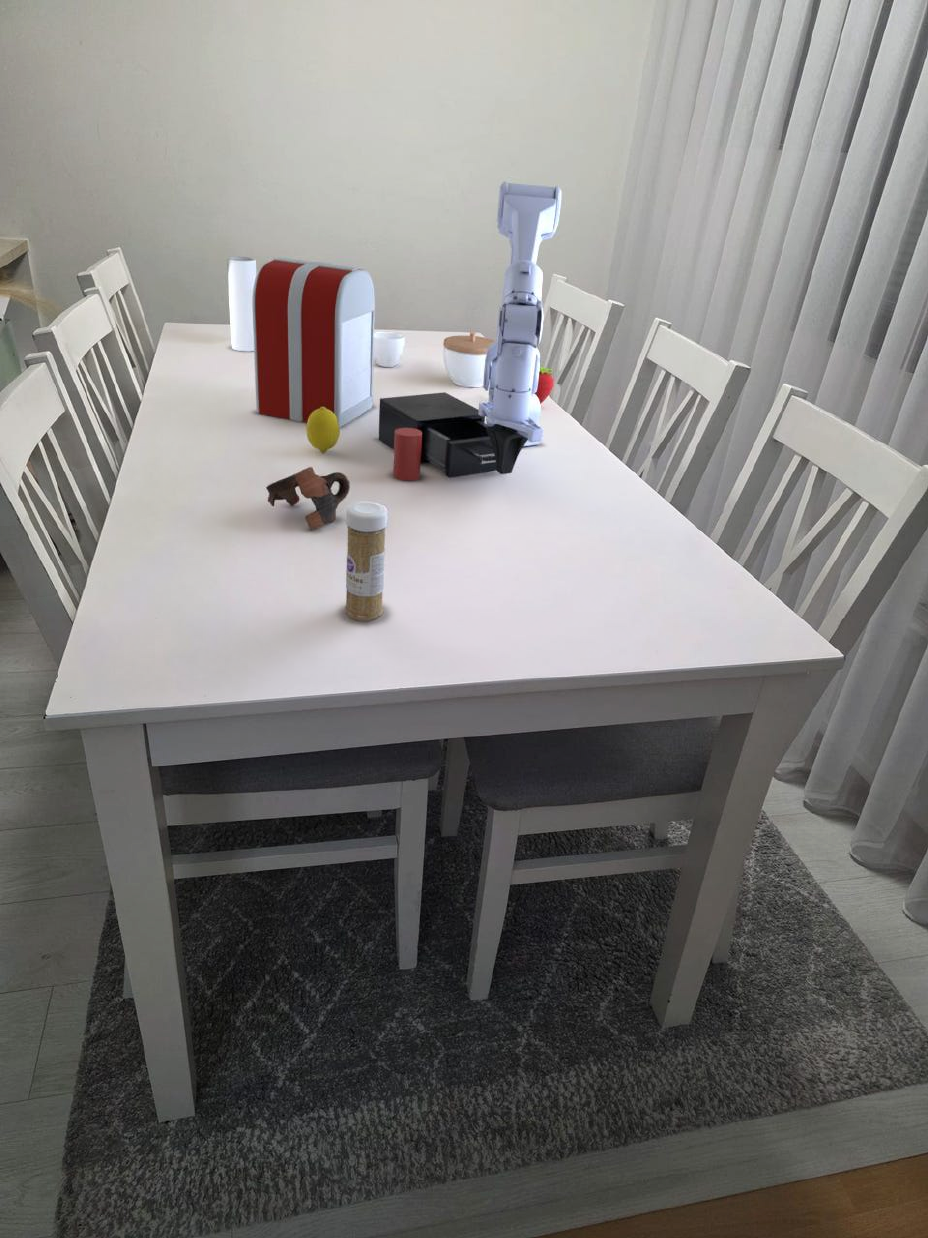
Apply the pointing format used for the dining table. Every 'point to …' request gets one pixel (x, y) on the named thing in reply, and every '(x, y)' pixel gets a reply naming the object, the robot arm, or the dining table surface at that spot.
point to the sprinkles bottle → (365, 560)
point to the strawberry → (544, 384)
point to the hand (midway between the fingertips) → (504, 472)
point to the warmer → (420, 413)
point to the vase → (241, 301)
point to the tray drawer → (458, 447)
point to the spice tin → (407, 454)
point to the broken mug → (312, 494)
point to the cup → (388, 348)
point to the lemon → (323, 429)
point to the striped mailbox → (313, 339)
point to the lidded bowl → (466, 359)
